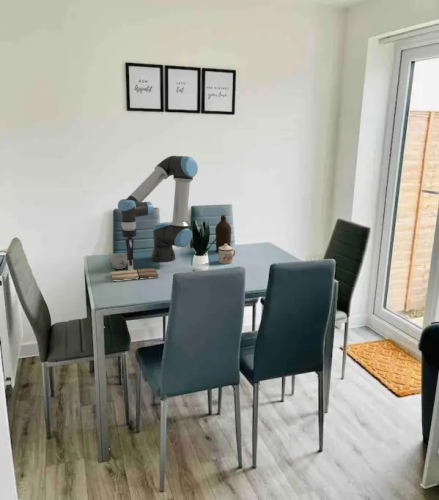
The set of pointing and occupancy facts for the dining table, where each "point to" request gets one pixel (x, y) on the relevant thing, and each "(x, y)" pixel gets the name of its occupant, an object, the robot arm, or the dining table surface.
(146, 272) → the walnut floor section
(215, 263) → the dining table surface
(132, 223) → the robot arm
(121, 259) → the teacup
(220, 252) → the teacup with lid
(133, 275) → the oak plank
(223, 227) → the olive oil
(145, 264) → the dining table surface
